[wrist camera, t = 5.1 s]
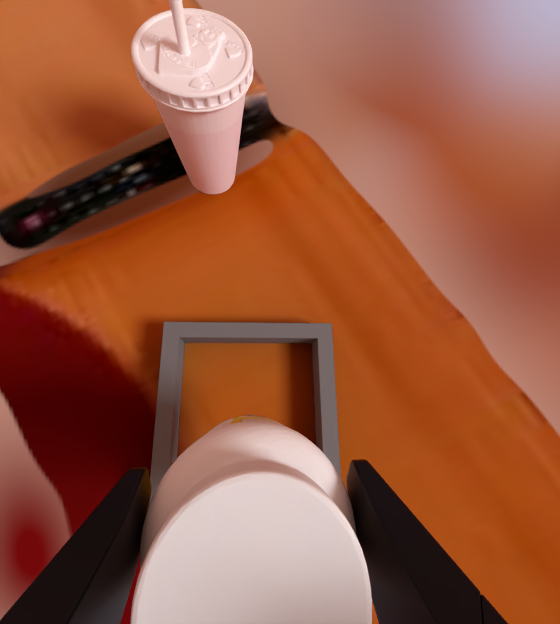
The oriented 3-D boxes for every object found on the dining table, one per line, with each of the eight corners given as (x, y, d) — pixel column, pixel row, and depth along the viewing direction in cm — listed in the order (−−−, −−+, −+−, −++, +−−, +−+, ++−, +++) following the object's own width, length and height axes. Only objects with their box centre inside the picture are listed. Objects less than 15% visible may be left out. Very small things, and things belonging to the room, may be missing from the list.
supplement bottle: (210, 570, 13) (125, 957, 4) (173, 442, 15) (40, 504, 5) (325, 511, 14) (473, 706, 5) (281, 397, 16) (332, 381, 6)
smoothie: (154, 174, 25) (51, -81, 12) (211, 130, 27) (177, -136, 14) (212, 223, 25) (172, 13, 11) (267, 175, 26) (288, -58, 13)
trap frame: (333, 496, 20) (342, 507, 18) (156, 505, 19) (146, 516, 17) (324, 329, 23) (331, 323, 21) (171, 328, 22) (163, 321, 20)
